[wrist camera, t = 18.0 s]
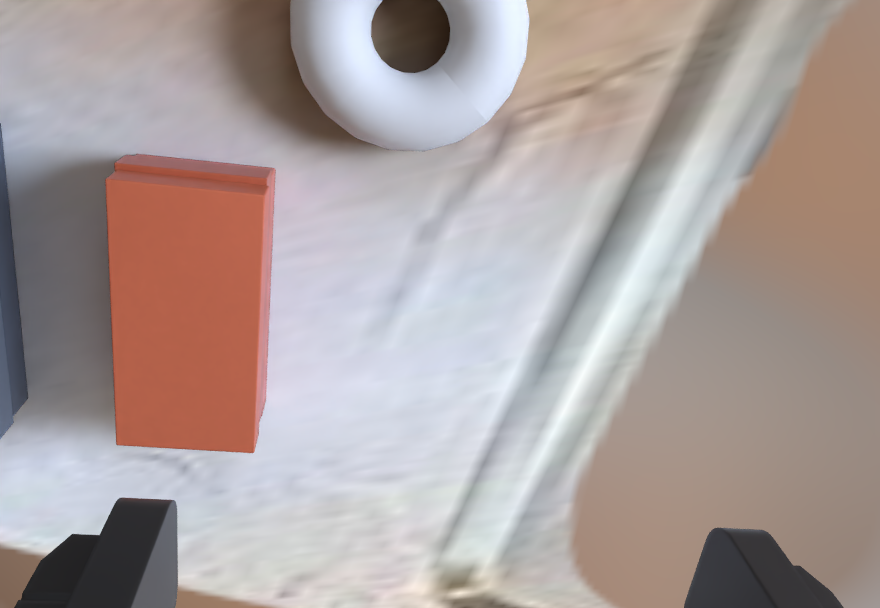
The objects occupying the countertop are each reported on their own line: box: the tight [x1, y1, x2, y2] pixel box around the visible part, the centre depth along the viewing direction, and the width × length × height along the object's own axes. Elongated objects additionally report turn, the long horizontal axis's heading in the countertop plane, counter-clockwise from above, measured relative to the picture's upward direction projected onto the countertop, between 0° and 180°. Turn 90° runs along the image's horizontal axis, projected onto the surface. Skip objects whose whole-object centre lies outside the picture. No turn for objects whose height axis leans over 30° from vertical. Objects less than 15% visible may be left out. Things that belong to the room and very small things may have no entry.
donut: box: [290, 0, 529, 151], centre depth 31 cm, size 10×4×10 cm
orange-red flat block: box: [114, 154, 275, 422], centre depth 35 cm, size 13×6×3 cm, turn 173°
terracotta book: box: [105, 170, 270, 453], centre depth 33 cm, size 12×6×2 cm, turn 172°
